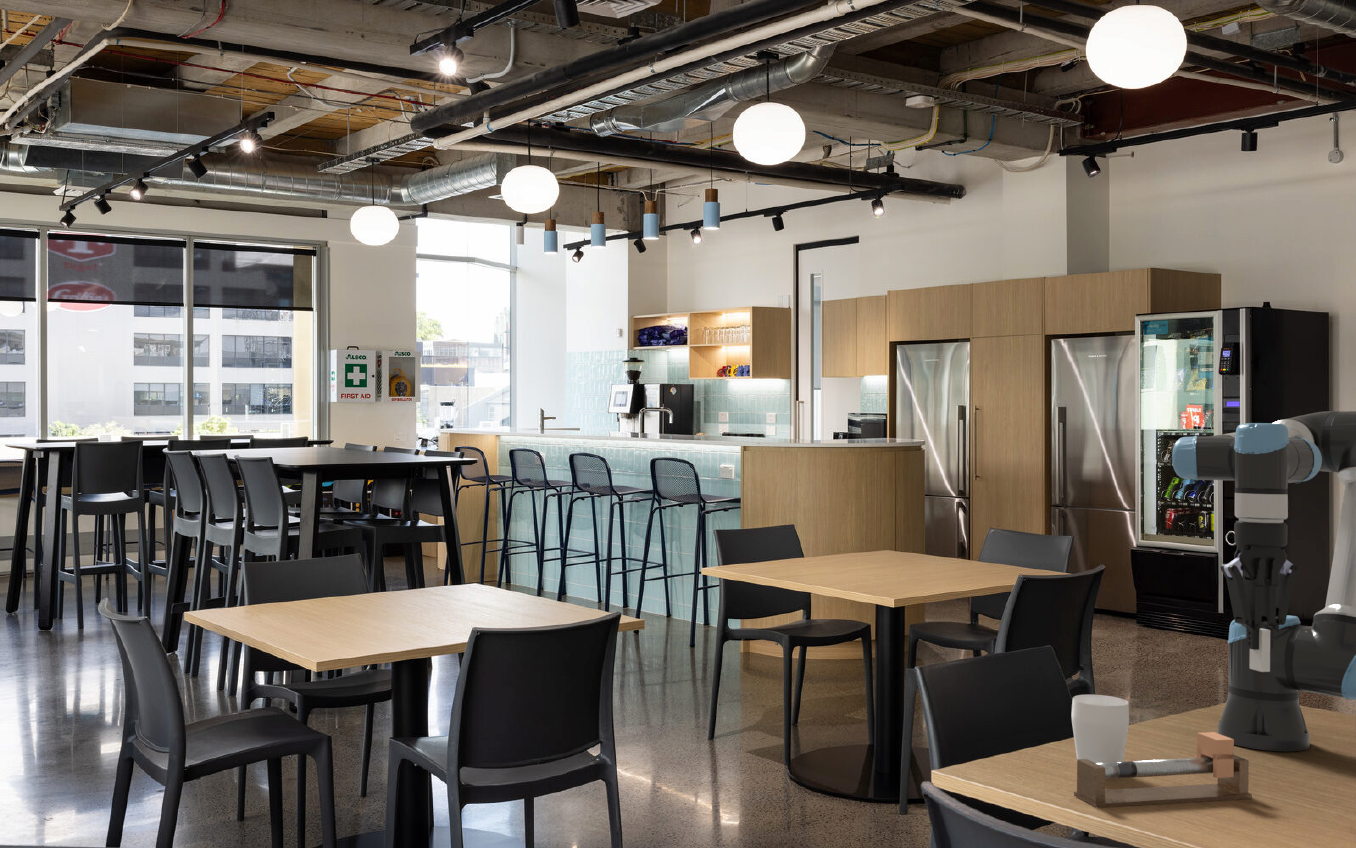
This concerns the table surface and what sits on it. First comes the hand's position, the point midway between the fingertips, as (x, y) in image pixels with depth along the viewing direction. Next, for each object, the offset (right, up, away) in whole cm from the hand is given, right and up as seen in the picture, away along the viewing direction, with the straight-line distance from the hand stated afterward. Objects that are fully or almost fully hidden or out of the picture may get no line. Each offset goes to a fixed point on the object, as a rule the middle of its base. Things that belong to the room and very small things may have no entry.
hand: (1259, 670), depth 182 cm
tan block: (-8, -16, -2) cm, 18 cm away
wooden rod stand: (-17, -19, -4) cm, 26 cm away
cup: (-22, -19, +9) cm, 30 cm away
